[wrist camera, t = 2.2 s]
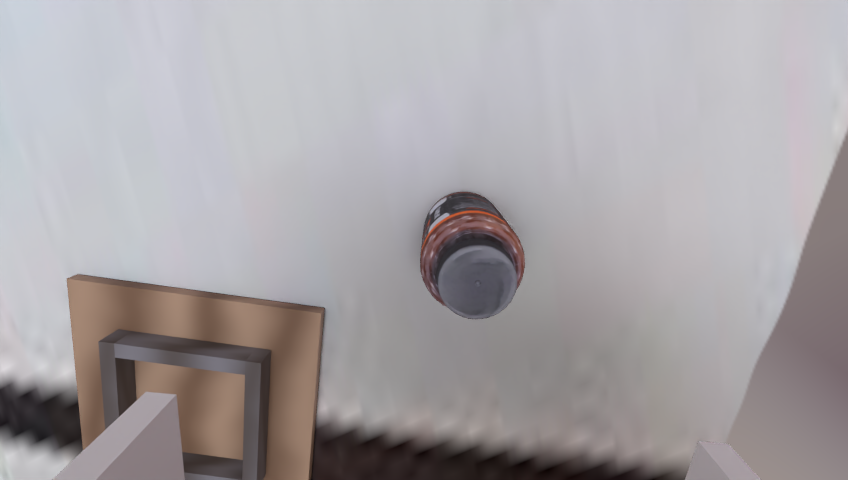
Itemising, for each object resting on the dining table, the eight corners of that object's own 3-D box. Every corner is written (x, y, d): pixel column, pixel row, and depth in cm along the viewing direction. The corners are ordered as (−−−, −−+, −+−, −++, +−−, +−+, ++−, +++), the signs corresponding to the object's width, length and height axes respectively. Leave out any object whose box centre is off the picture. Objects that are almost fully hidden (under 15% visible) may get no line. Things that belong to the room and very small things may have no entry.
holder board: (324, 307, 33) (313, 324, 30) (309, 503, 38) (298, 534, 35) (77, 274, 33) (42, 288, 30) (95, 475, 38) (67, 504, 35)
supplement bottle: (413, 203, 31) (401, 242, 20) (490, 180, 30) (522, 207, 19) (436, 275, 32) (436, 349, 21) (510, 254, 31) (550, 320, 20)
